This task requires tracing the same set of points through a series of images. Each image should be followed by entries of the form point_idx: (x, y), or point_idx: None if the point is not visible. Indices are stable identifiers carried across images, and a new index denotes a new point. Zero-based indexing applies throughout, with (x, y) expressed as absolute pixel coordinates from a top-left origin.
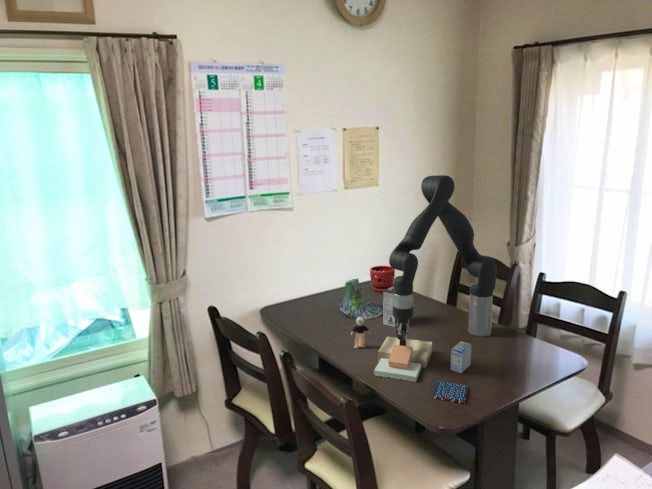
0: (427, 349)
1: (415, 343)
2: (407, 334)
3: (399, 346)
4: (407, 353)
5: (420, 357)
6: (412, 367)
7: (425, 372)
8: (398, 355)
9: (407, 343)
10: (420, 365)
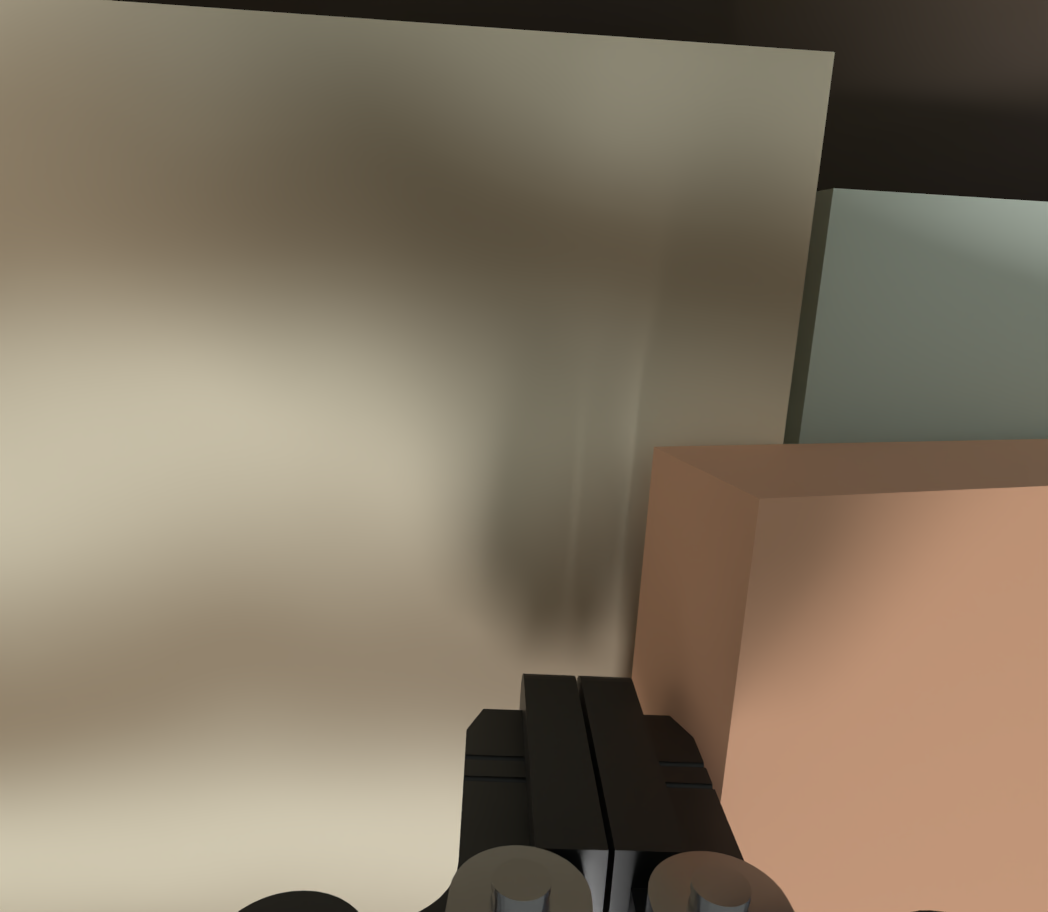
0: (287, 70)
1: (14, 456)
2: (328, 896)
3: (753, 858)
4: (1000, 568)
5: (811, 210)
6: (1037, 355)
7: (928, 89)
8: (1045, 757)
9: (94, 650)
10: (921, 194)
